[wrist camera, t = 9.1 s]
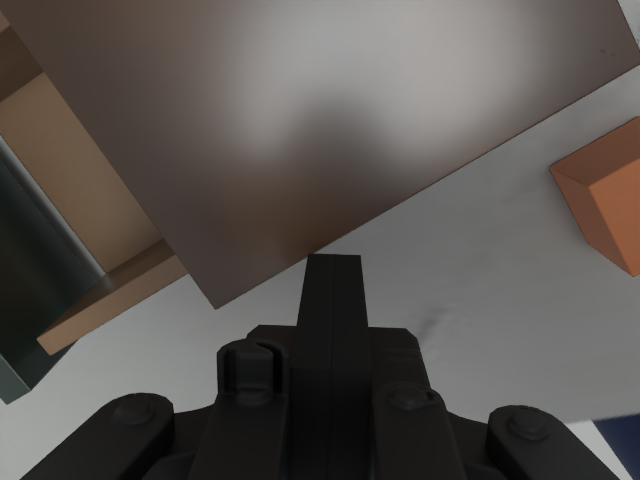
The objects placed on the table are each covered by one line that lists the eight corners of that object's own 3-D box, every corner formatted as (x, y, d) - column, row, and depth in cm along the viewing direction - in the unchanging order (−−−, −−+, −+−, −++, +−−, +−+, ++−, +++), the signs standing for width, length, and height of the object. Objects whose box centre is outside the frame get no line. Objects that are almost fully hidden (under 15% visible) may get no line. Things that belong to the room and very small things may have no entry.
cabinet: (255, 228, 28) (214, 311, 19) (92, -14, 25) (-49, -56, 16) (535, 60, 25) (646, 61, 16) (390, -233, 22) (426, -433, 13)
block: (677, 198, 27) (740, 223, 23) (588, 245, 28) (633, 278, 24) (639, 115, 26) (697, 125, 22) (548, 166, 27) (587, 186, 23)
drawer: (16, 361, 30) (-93, 463, 22) (-145, 170, 27) (-331, 213, 19) (328, 173, 26) (324, 218, 19) (179, -67, 24) (106, -125, 16)
